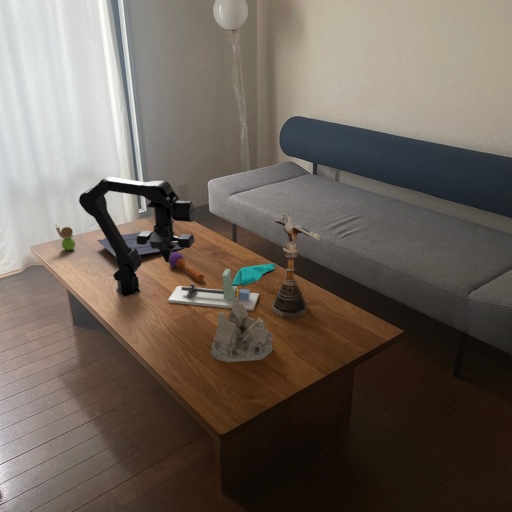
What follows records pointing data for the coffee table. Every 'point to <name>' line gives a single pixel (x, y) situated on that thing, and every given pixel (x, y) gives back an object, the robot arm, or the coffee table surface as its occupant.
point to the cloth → (251, 274)
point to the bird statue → (291, 274)
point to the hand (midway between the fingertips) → (167, 261)
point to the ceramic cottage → (240, 337)
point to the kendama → (184, 266)
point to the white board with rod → (212, 297)
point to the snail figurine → (66, 238)
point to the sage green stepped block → (228, 286)
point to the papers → (132, 244)
